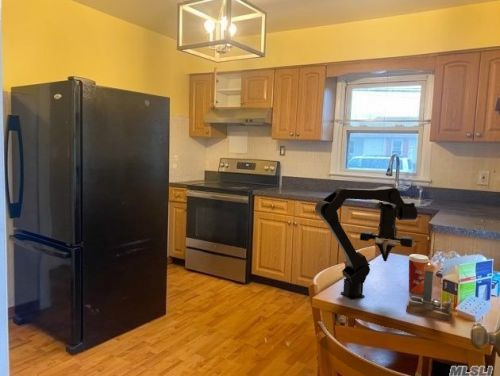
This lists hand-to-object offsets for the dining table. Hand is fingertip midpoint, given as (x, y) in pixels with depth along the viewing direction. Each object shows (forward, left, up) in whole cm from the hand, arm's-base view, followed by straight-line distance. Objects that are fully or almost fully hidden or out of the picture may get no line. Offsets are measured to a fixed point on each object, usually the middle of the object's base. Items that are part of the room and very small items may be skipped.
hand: (385, 261), depth 144 cm
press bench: (+3, -18, -13) cm, 22 cm away
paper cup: (+15, -2, -13) cm, 20 cm away
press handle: (+4, -18, -11) cm, 22 cm away
